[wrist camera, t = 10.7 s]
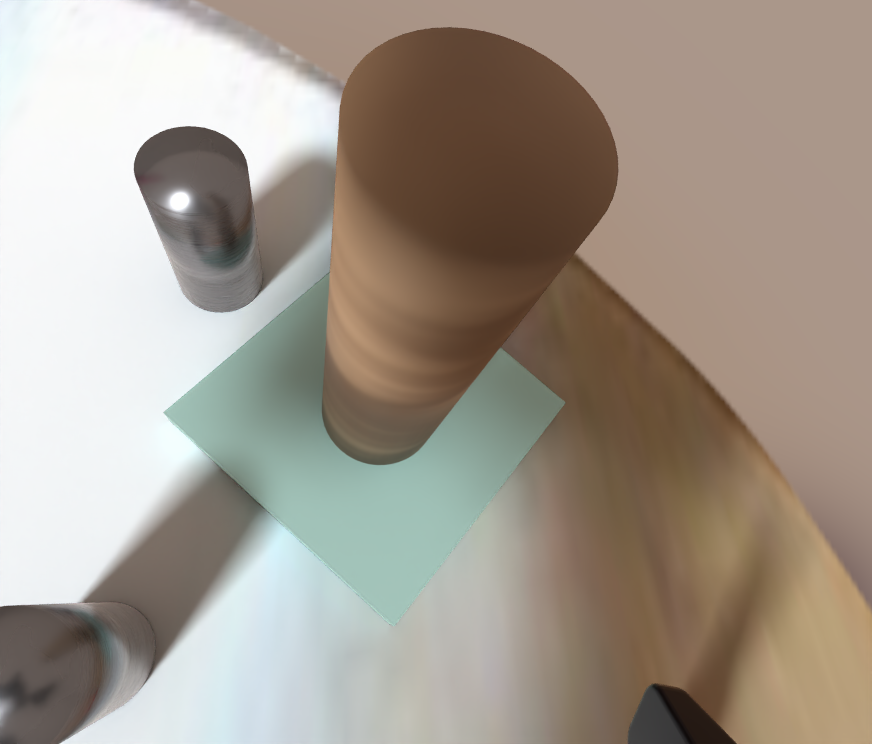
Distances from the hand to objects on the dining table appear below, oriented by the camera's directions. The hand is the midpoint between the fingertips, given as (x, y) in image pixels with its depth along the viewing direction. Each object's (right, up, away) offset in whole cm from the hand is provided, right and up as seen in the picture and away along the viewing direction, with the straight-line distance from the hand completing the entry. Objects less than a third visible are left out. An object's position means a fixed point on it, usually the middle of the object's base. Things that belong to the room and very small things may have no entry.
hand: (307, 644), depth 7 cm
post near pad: (-7, +7, +14) cm, 17 cm away
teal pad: (-1, +2, +13) cm, 14 cm away
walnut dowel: (0, +2, +13) cm, 13 cm away
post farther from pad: (-8, -5, +9) cm, 13 cm away
